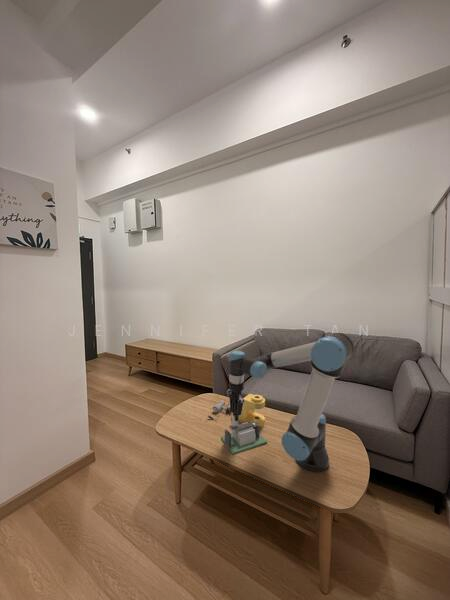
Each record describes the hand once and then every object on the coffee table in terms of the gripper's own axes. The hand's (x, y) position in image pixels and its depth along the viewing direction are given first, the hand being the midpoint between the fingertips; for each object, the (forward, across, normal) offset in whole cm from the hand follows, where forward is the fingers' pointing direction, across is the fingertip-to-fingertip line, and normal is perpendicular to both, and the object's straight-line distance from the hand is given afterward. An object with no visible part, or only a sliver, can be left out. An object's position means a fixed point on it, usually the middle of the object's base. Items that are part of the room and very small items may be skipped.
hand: (235, 425), depth 128 cm
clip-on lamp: (+10, +29, -5) cm, 31 cm away
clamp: (+10, +15, -18) cm, 25 cm away
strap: (+2, -1, -4) cm, 5 cm away
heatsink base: (+9, -1, -5) cm, 11 cm away
